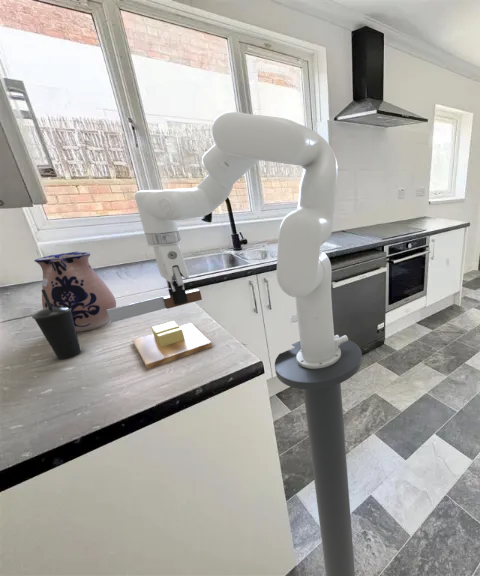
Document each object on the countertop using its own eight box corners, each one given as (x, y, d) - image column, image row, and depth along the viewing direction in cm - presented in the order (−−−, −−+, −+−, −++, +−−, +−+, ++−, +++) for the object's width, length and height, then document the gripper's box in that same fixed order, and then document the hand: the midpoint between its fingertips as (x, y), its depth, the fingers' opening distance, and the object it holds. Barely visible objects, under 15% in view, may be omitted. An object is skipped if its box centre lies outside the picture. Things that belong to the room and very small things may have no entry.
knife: (199, 297, 93) (197, 287, 92) (202, 299, 92) (199, 288, 91) (110, 321, 79) (105, 308, 77) (111, 323, 77) (107, 311, 76)
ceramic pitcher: (47, 344, 95) (13, 265, 87) (62, 320, 111) (35, 253, 103) (119, 328, 105) (95, 256, 96) (123, 309, 121) (103, 246, 113)
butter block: (176, 330, 99) (173, 320, 98) (181, 336, 95) (179, 326, 94) (154, 337, 95) (151, 326, 94) (158, 343, 91) (155, 332, 90)
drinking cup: (47, 365, 84) (16, 297, 77) (55, 353, 90) (27, 288, 83) (84, 356, 88) (58, 290, 81) (89, 345, 94) (66, 283, 87)
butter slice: (182, 337, 95) (180, 327, 94) (184, 339, 93) (182, 329, 92) (159, 344, 91) (156, 334, 89) (161, 347, 89) (158, 336, 88)
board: (191, 326, 105) (190, 322, 105) (212, 346, 92) (211, 342, 92) (133, 343, 94) (132, 339, 94) (147, 369, 81) (146, 364, 81)
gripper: (189, 239, 80) (203, 305, 86) (171, 233, 90) (185, 292, 96) (154, 244, 75) (172, 313, 81) (139, 237, 85) (157, 299, 91)
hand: (179, 301), depth 88 cm, fingers closed on knife, 2 cm apart
